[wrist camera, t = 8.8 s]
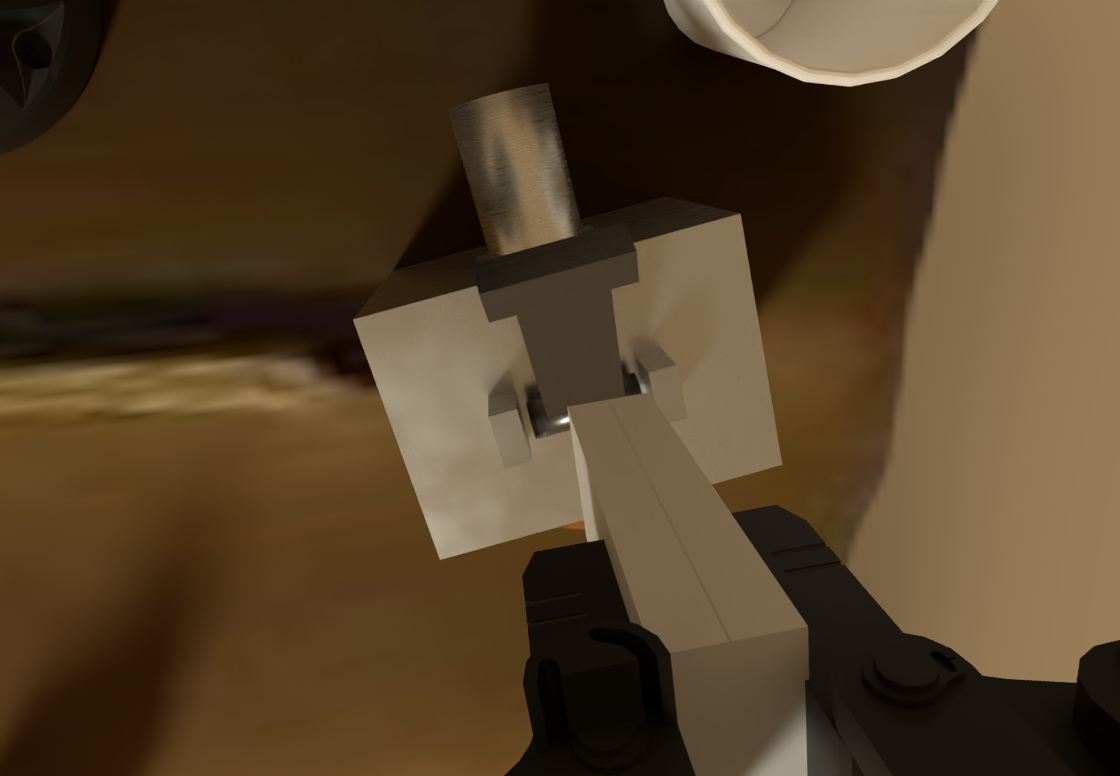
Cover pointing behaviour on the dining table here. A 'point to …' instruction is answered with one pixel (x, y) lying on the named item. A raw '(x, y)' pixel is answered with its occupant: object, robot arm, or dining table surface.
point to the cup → (831, 34)
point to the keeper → (565, 318)
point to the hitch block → (509, 382)
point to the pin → (517, 172)
